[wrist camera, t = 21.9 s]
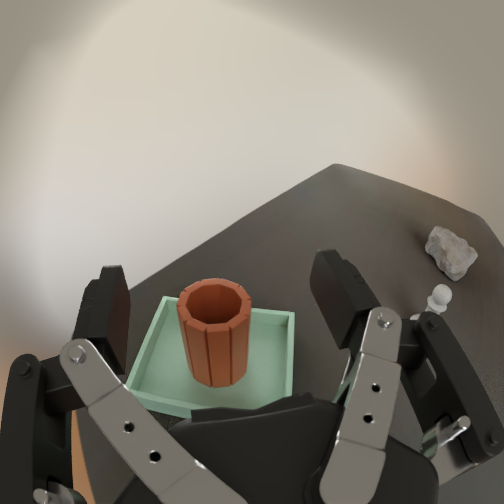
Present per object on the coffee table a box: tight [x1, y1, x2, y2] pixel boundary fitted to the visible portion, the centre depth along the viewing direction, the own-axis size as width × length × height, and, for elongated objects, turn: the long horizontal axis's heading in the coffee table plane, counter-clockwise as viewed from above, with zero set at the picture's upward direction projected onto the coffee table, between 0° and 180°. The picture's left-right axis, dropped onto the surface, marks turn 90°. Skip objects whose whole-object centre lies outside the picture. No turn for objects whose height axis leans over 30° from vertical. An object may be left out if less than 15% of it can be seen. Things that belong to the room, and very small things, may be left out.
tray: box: [126, 296, 295, 418], centre depth 29 cm, size 15×13×3 cm
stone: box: [425, 226, 478, 281], centre depth 45 cm, size 10×8×6 cm
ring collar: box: [176, 278, 252, 388], centre depth 27 cm, size 6×6×9 cm
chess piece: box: [410, 284, 452, 320], centre depth 32 cm, size 5×5×8 cm
